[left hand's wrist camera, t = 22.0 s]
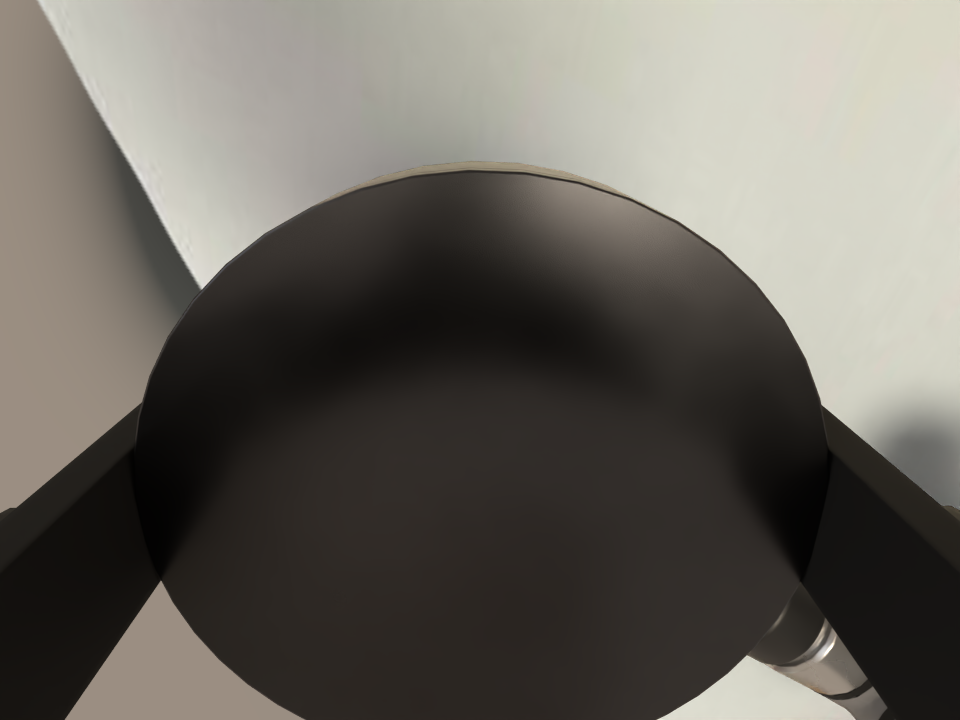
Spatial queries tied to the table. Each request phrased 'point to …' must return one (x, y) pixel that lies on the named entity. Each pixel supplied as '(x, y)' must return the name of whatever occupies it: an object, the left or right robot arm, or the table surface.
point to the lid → (481, 455)
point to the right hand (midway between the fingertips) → (512, 457)
